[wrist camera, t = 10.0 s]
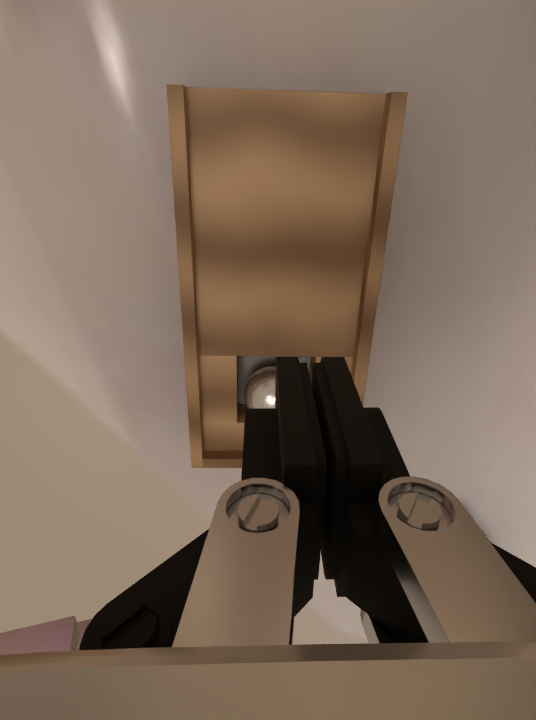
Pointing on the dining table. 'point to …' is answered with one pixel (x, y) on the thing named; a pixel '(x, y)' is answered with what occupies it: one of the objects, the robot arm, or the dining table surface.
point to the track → (276, 237)
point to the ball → (261, 388)
